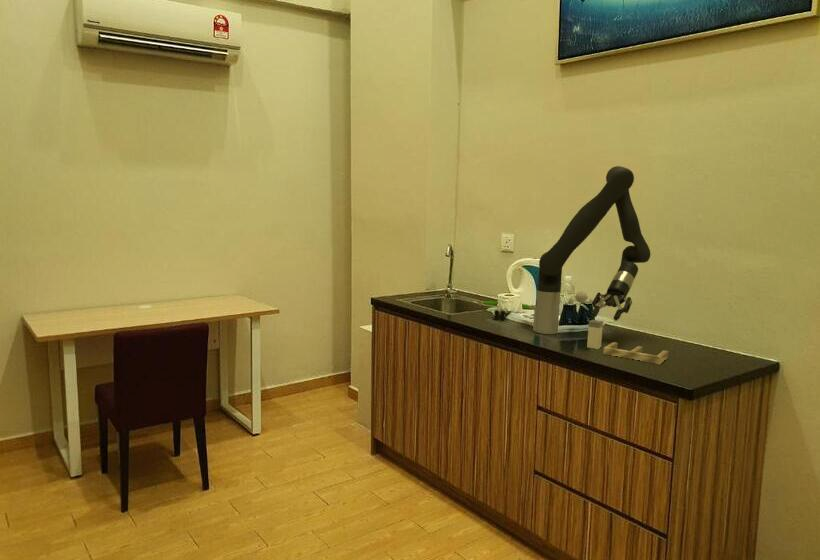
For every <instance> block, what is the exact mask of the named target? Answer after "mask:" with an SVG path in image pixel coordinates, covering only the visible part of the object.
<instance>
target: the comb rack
mask: <svg viewBox="0 0 820 560" xmlns="http://www.w3.org/2000/svg"><path fill="white" fill-rule="evenodd" d="M618 345H619V342H615V341H613V342H611V343H609V344H608V345H605V346H604V347H603V354H604V355H603V354H602V355H603V356H609V355H611V356H610V357H614V356H618V357H617V358H620V357H623V358H622V359H626V358H628V359H627V360H632V359H634V360H633V361H637V360H640V361H639V362H643V361H644V362H643V363H650V364H654V363H655V364H656V365H661V364H662V363H664V362H665V361H666V360H667V359H668V358H669V350H662V351H661V352H660V353H658V354H657V355H656V354H650V353H643V346H641V345H640V346H639V345H637V346H636V347H634V348H633V349H631V350H626V349H619V348H618ZM664 360H665V361H664Z"/></svg>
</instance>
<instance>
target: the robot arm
mask: <svg viewBox="0 0 820 560" xmlns="http://www.w3.org/2000/svg"><path fill="white" fill-rule="evenodd" d="M605 180H606V183H605V185H604V186H603V187H602V189H600V191H599V192H598V194H596V195H595V196H594V197H593V198H592V199H590V200H589V201H588V202H586V204H584V205H583V206H582V207H581V208H580V209H579V210H578V211H577V213H576V214H575V215H574V217H572V218H571V220H570V222H569V223H568V224H567V226H566V227H565V229H564V230H563V233H562V235H561V236H560V238H559V239H558V240H557V241H556V242H555V244H554V245H552V247H551V248H549V250H547V251H546V252H543V254H542V255H541V257H540V258H539V263H538V279H537V290H536V291H537V295H536V305H535V306H536V308H535V309H533V311H534V312H533V326H532V327H533V328H532V332H535V333H538V334H544V335H555V334H558V331H559V321H560V319H559V318H560V317H559V316H560V304H561V289H562V275H563V267H564V266H565V264H566V262H567V261H568V259H569V258H570V257H571V255H572V254H573V252H574V251H575V250H576V249H577V248H578V247H579V246H580V245H581V244H582V243H583V242H584V241H585V240H586V239H587V238H588V237H589V236H590V235H591V234H592V233H593V231H594V230H595V229H596V228H597V226H598V225H599V223H600V222H601V221H603V219H604V218H605V216H606V215H607V213H608V212H609V211H610V209H611V208H612V207H613V206H614V205H615V207H616V211H617V216H618V220H619V221H618V222H619V224H620V228H621V234H622V238H623V240H624V241H625V242H628V243H632V244H633V245H628V246H626V247H625V248H624V249H623V250H622V254H621V259H620V265H619V266H618V267H619V268H617V269H618V270H617V271H616V273H615V275H614V276H613V278H612V280H611V282H610V284H609V286H608V288H607V289H606V293H604V294H602V293H601V292H597V293H596V295H595V296H594V298H593V299H592V300H593V302H592V305H593V312H592V316H593V317H595V318H597V316H598V315H599V312H600V310H601V309H603V308H606V307H612V308H616V307H617V309H616V311H615V314H614V315H613V320H614V321H618V320H619V319H620V317H621V316H622V314H624V313H625V314H628V313H629V311H630V309H631V306H632V304H633V300H632V298H631V297H630V296H628V295H629V292H630V290H631V289H632V287H633V283H634V280H635V279H636V277H637V274H638V272H639V267H638V265H637V264H639V263H640V264H645V263H647V262H648V261H649V260H650V258H651V249H650V246H649V245H648V243H647V242H646V239H645V237H644V236H643V233H642V230H641V226H640V220H639V218H638V214H637V212H636V210H635V207H634V205H633V201H632V200H631V195H630V188H632V185H633V184H634V182H635V181H634V180H635V175H634V173H633V172H632V170H631V169H629V168H627V167H624V166H621V165H620V166H619V165H615V166H612V167H611V168H610V169H609V170H608V171H607V173H606V175H605ZM624 303H625V304H624ZM622 304H624V306H622Z"/></svg>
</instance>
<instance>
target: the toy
mask: <svg viewBox="0 0 820 560" xmlns="http://www.w3.org/2000/svg"><path fill="white" fill-rule="evenodd" d="M574 299H575V300H576V302H577V303H581V304H584V303H586V301H587V300H588V299H589V296H588V294H587V293H586V292H585V291H582V290H581V291H578V292H576V294H575V295H574ZM574 299H573V298H572V297H570V298H569V299H568V300H567V304H568V303H573V304H574ZM593 300H594V299H592V298H590V299H589V300H588V303H592V302H593ZM588 303H587V304H588Z"/></svg>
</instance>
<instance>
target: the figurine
mask: <svg viewBox="0 0 820 560" xmlns="http://www.w3.org/2000/svg"><path fill="white" fill-rule="evenodd" d="M498 302H499V301H489V300H488V301H487V300H485V301H482V300H478V301H476V304H477V305H479V306H483V305H485V306H495V307H497V308H496V309H495V310H494V313H493V314H494V317H493V318H494V320H495V321H499V319H500V321H505V319H506V317H505V316H506V315H507V312H508V309H507V308H506V307H505V308H504V309H502V307H501V306H500V305H499V306H497V304H498ZM521 304H522V308H521V309H530V310H533V311H534V309H535V308H536V306H537V305H529V304H526V303H525V304H524V303H521ZM508 313H509V312H508ZM499 317H500V318H499Z"/></svg>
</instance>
